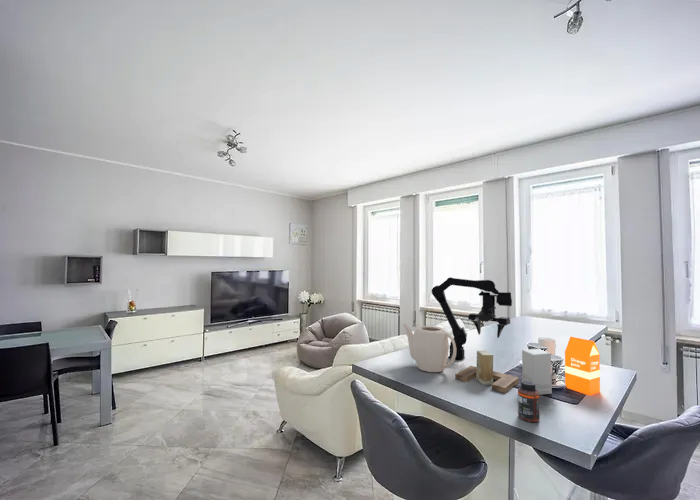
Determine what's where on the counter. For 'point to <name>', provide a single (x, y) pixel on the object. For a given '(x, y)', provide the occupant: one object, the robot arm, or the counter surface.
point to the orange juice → (582, 366)
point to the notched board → (501, 384)
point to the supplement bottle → (528, 402)
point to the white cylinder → (548, 344)
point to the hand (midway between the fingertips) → (488, 336)
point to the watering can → (430, 347)
